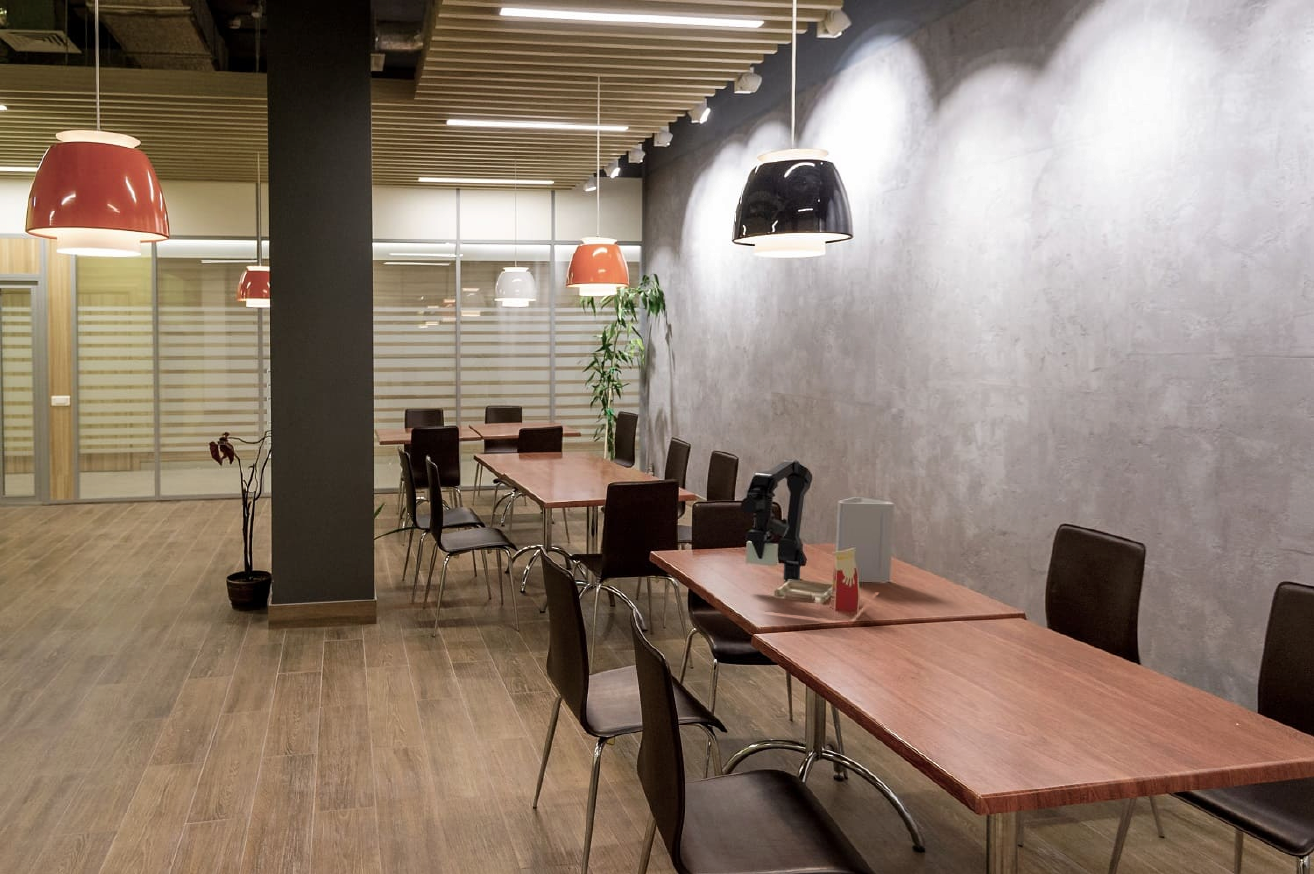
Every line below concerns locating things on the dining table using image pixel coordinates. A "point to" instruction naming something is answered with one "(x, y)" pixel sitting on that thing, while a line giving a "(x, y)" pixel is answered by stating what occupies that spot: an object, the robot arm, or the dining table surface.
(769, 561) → the sheet
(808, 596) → the offcut
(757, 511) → the robot arm
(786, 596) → the offcut
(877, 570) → the grey tall prism
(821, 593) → the rack
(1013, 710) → the dining table surface
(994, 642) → the dining table surface
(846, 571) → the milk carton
